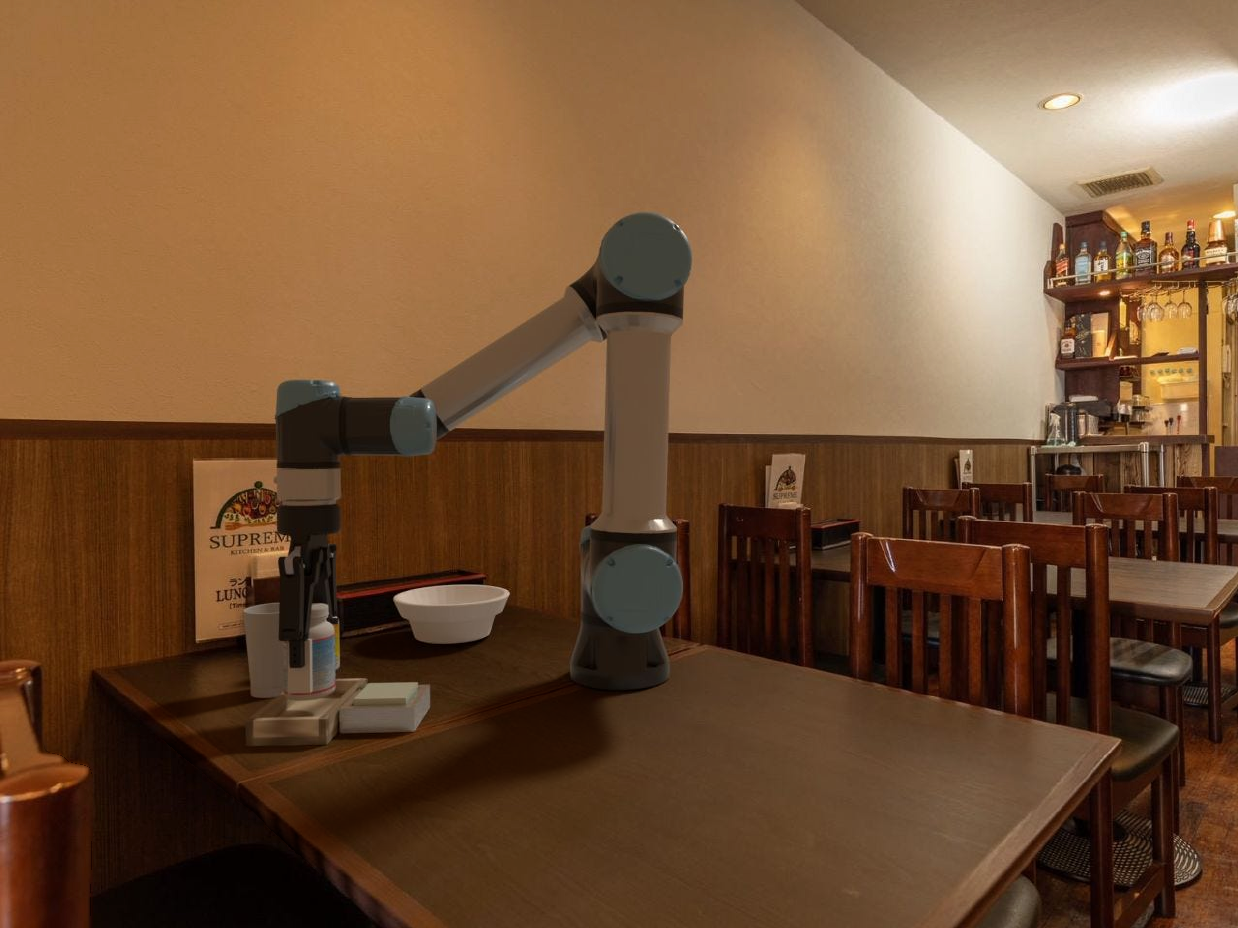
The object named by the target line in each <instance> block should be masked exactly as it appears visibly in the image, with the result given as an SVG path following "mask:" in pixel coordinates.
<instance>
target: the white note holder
mask: <svg viewBox="0 0 1238 928" xmlns="http://www.w3.org/2000/svg"><path fill="white" fill-rule="evenodd" d="M369 683H370V682H369ZM369 683H368V682H367V683H364V684H360V685H359V688H360V689H359V690H358V691H357V692H356V693H355V694H354V695H353V696H352V697H351V698H350V699H349V700H348V701H347V702H346V703H345V704H344V705H343V706H342V707H341V708H340V709H339V716H340V730H339V734H368V733H373V734H374V733H377V734H378V733H409V732H410V733H411V732H412V733H413V732H415V731H416V729H417V728H418V727H419V725H420V724H421V722H422V721H423V719H424V717H425V716H426V714H427V712H428V711H429V709H430V708H431V684H418V691H417V693H416V694H415V696H414V697H413V698H412V700H411V701H410V702H409V704H408V705H370V706H354V698H355V697H356V696H357V695H358V694H359V693H360V692H361V691H362V690H363V689H364V688H365V687H366V686H367V685H368V684H369Z"/></svg>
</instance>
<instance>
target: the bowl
mask: <svg viewBox="0 0 1238 928" xmlns="http://www.w3.org/2000/svg"><path fill="white" fill-rule="evenodd" d="M510 594H511V593H510V592H509V590H507V589H505V588H502V587H499V586H492V585H485V584H448V585H445V584H443V585H433V586H426V587H421V588H420V587H419V588H414V589H409V590H407V591H403V592H400V593H397V594H396V595H394V596H393V599H392V600H393V602H394V604H395V607H396V609H397V610H398V613H399V614H400V616H401V617H402V618H403V619H406V620H408V621H409V624H410V627H411V631H412V633H413V636H414V638H415V639H416V640H418V641H419V642H421V643H422V642H424V643H428V644H439V645H440V644H442V645H445V644H447V645H448V644H461V643H468V642H474V641H478V640H481V639H484V638H485V637H487V636H489V635H490V633H491V631H492V627H493V623H494V620H495V617H496V615H499V614H501V613H502V612H503V610H504V608H505V606H506V604H507V601H508V598H509V597H510Z"/></svg>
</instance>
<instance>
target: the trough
mask: <svg viewBox="0 0 1238 928" xmlns="http://www.w3.org/2000/svg"><path fill="white" fill-rule="evenodd" d="M364 683H368V678H367V677H363V678H359V677H357V678H356V677H355V678H335V690H334V692H333V693H331V694H329V695H327V696H325V697H322V698H319V699H315V700H307V701H296V700H290V699H288V698H286V697H285V695H284V692H282V693H281V694H280V695H278V696H277V697H273V699H272V700H271V701H268V703H267V704H266V705H263V707H262V708H259V710H257V711H256V712H255V713H253V714H252V715H251V716H250V717H248V718H247V719H246V720H244V721H245V747H280V746H283V747H284V746H319V745H321V746H322V745H323V746H324V745H325V746H326V745H328V744H329V742H331V740H332V739H334V737H335V736H336V735H337V734H338V732H339V733H340V716H339V709H340V708H341V707H342V706H343V705H344V704H345V703H346V702H347V701H348V700H349V699H350V698H351V697H352V696H353V695H354V694H355V693H356V692H357V691H358V690H359V689H360V688H359V685H360V684H364Z"/></svg>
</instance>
